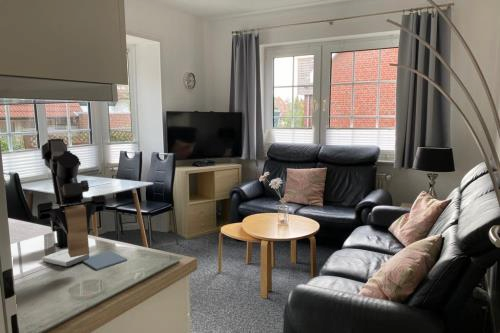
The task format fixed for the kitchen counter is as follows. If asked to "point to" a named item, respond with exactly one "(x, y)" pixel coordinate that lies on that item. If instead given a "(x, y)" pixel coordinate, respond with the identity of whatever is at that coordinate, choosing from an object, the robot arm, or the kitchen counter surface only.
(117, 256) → the rubber mat
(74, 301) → the kitchen counter surface
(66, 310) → the kitchen counter surface
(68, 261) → the external hard drive
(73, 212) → the walnut block
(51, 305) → the kitchen counter surface
